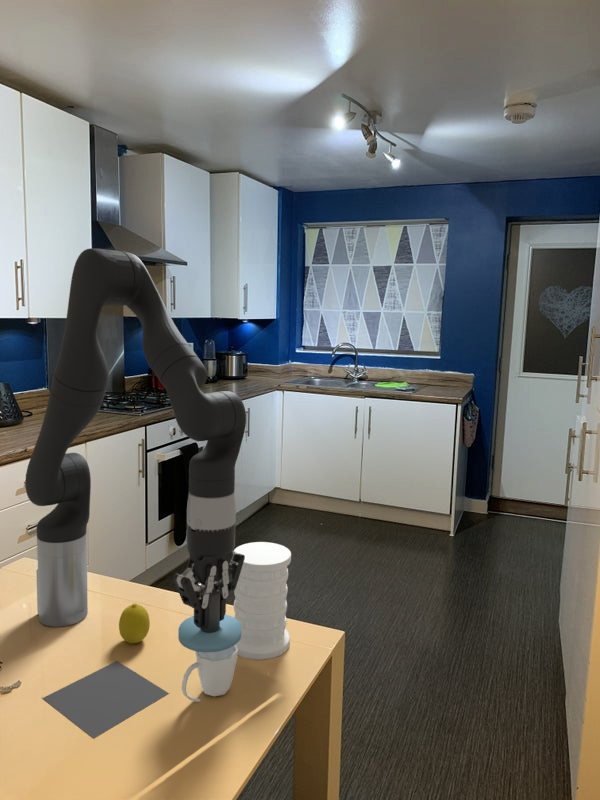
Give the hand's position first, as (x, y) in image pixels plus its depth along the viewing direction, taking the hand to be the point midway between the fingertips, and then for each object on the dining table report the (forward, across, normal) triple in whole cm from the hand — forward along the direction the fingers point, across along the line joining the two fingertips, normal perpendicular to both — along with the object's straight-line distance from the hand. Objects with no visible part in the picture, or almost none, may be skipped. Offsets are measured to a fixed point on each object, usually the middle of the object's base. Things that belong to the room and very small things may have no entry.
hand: (209, 622), depth 99 cm
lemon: (+13, -2, -22) cm, 26 cm away
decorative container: (+13, -18, -5) cm, 23 cm away
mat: (+13, +11, -12) cm, 21 cm away
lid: (+2, 0, 0) cm, 2 cm away
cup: (+13, 0, 0) cm, 13 cm away
